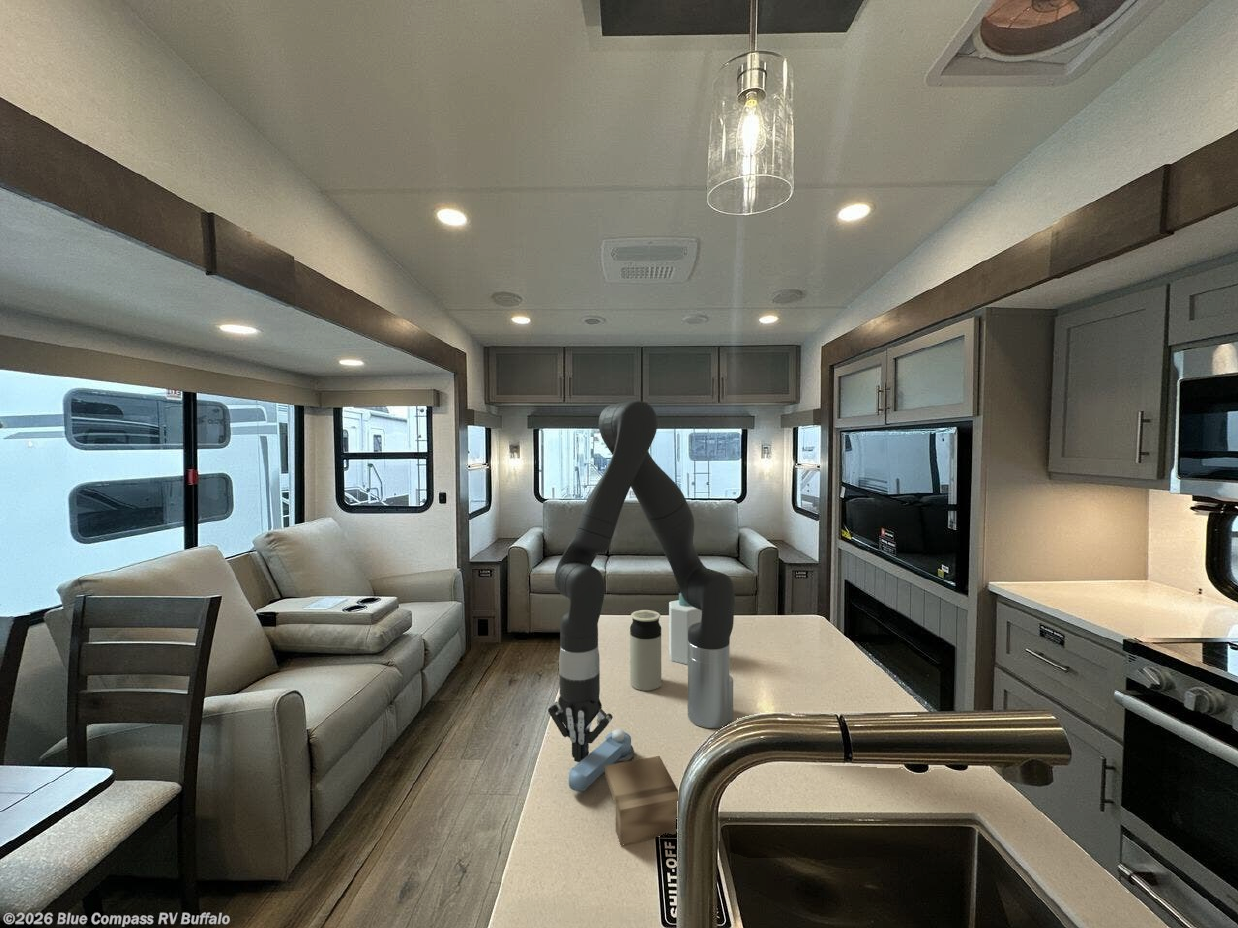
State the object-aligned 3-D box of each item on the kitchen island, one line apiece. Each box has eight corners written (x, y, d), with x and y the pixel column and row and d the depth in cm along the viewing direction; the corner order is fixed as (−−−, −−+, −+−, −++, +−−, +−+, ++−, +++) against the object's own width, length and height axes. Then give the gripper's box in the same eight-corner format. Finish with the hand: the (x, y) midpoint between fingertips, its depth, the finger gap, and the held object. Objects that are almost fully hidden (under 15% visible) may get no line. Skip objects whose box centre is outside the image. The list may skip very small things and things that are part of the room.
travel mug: (659, 693, 117) (659, 621, 117) (627, 689, 119) (627, 618, 118) (662, 677, 125) (662, 610, 124) (633, 675, 126) (633, 608, 126)
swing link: (615, 737, 97) (615, 722, 96) (636, 746, 94) (636, 730, 94) (561, 783, 83) (561, 765, 83) (583, 795, 80) (583, 777, 80)
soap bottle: (704, 665, 132) (704, 586, 131) (671, 664, 132) (671, 586, 132) (698, 649, 142) (699, 577, 142) (668, 649, 143) (668, 576, 142)
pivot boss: (628, 744, 97) (628, 738, 97) (637, 763, 91) (637, 757, 91) (600, 749, 95) (600, 743, 95) (607, 768, 89) (607, 762, 89)
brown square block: (659, 786, 85) (659, 755, 84) (681, 832, 74) (681, 797, 74) (605, 796, 82) (604, 765, 82) (620, 845, 72) (620, 809, 72)
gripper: (619, 666, 89) (620, 756, 90) (558, 654, 95) (559, 740, 95) (603, 684, 83) (604, 781, 83) (538, 671, 88) (539, 763, 88)
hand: (580, 759), depth 89 cm, fingers closed
